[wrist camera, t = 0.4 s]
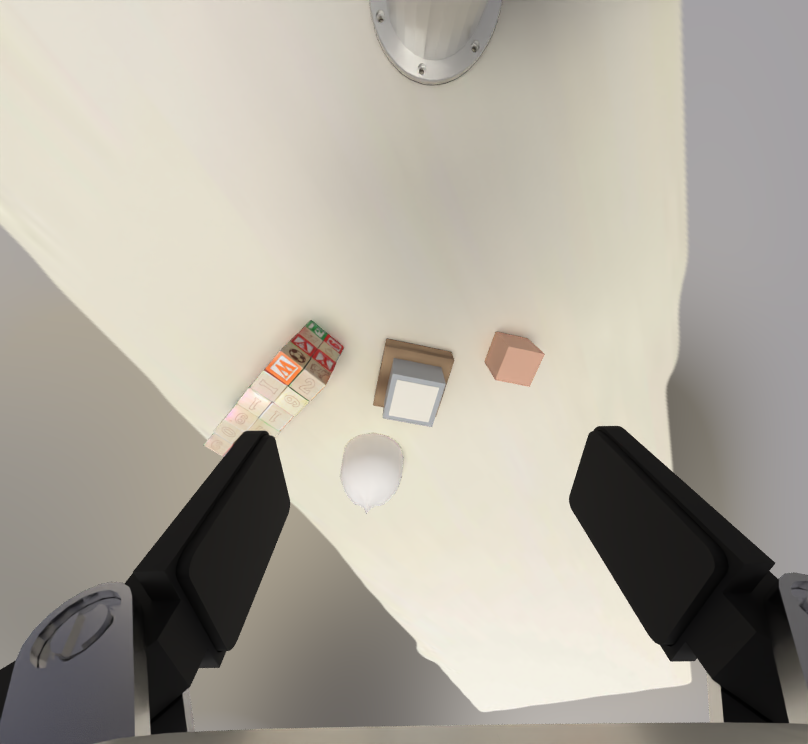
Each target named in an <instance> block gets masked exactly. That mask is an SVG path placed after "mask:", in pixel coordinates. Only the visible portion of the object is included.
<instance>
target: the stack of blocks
mask: <svg viewBox="0 0 808 744" xmlns="http://www.w3.org/2000/svg"><path fill="white" fill-rule="evenodd" d="M343 348H344V347H343V346H342V345H341V344H340V343H339V342H337V341H336V340H335V339H334V338H333V337H331V336H330V335H329V334H327V333H326V332H325V331H324V330H322V329H321V328H320V327H319V326H318V325H316V324H315V323H314V322H313V321H312V320H311V321H310V322H308V323H307V324H306V325H305V326H304V327H303V328H302V330H301V331H300V332H299V333H298V334H296V335H295V336H294V337H293V338H292V339H291V340H290V341H289V342H288V344H286V345H285V346H284V347H283V348H282V349H281V350H280V351H279V352H278V353H277V355H276V356H275V357H274V358H273V360H272V361H271V362H270V363H269V365H268V366H267V367H266V368H265V369H264V370H263V371H262V373H261V374H260V375H259V376H258V378H257V379H256V380H255V382H254V383H253V384H252V385H251V386H250V387H249V388H248V389H247V390H246V392H245V393H244V394H243V395H242V397H241V398H240V399H239V401H238V402H237V404H236V405H235V406H234V407H233V409H232V410H231V411H230V412H229V414H228V415H227V416H226V417H225V418H224V419H223V421H222V422H221V423H220V424H219V425H218V426H217V428H216V429H215V430H214V433H213V434H212V435H211V437H210V438H209V439H208V440H207V441H206V442H205V444H204V446H205V447H207V448H209V449H210V450H212V451H214V452H216V453H217V454H219V455H220V456H225V455H226V454H227V452H228V451H229V450H230V449H231V447H232V446H233V445H234V444H235V442H236V441H237V440H238V439H239V437H240V436H241V435H242V434H243V433H244V432H245V431H267V432H268V433H269V435H272V436H274V437H276V436H277V435H278V434H279V433H280V431H281V429H282V428H283V427H284V426H285V425H286V424H287V423H288V422H289V421H290V420H291V419H292V418H293V417H294V416H296V415H297V414H298V413H299V412H300V411H301V410H302V409H303V408H304V407H305V406H306V405H307V404H308V403H309V401H311V400H312V399H313V398H314V397H315V396H316V395H317V394H318V393H319V392H320V391H321V390H322V389H323V388H324V387H325V385H326V384H327V381H328V379H329V377H330V375H331V373H332V371H333V370H334V367H335V365H336V362H337V360H338V358H339V356H340V355H341V353H342V350H343Z"/></svg>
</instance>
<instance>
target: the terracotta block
mask: <svg viewBox="0 0 808 744" xmlns="http://www.w3.org/2000/svg"><path fill="white" fill-rule="evenodd" d="M544 355H545V354H544V353H543V352H542V351H541V350H540V349H539V348H538V347H536V346H535V345H534V344H533V343H532V342H531V341H530V340H529V339H528V338H523V337H519V336H514V335H509V334H505V333H500V332H495V335H494V338H493V340H492V343H491V346H490V348H489V351H488V354H487V356H486V359H485V363H486V365H487V367H488V368H489V370H490V372H491V374H492V375H493V377H494V379H495V380H498V381H503V382H508V383H513V384H519V385H524V386H529V387H530V385H531V383H532V380H533V378H534V376H535V374H536V372H537V370H538V368H539V365H540V363H541V361H542V359H543V357H544Z"/></svg>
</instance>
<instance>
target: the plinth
mask: <svg viewBox="0 0 808 744" xmlns="http://www.w3.org/2000/svg"><path fill="white" fill-rule="evenodd" d="M394 358H397V359H402V360H407V361H412V362H417V363H422V364H427V365H432V366H437V367H441V368H442V372H443V375H444V379H445V383H446V384H447V381H448V378H449V375H450V372H451V369H452V366H453V363H454V358H453V355H452V353H451V352H449V351H444V350H439V349H435V348H430V347H425V346H420V345H415V344H410V343H405V342H401V341H396V340H391V339H386V343H385V348H384V353H383V358H382V363H381V368H380V372H379V377H378V382H377V387H376V392H375V397H374V403H373V405H374V406H379V407H384V400H385V395H386V390H387V386H388V381H389V377H390V373H391V368H392V364H393V359H394ZM445 387H446V385H445ZM444 390H445V388H444ZM443 393H444V391H443ZM442 397H443V394H442ZM441 400H442V398H441ZM440 403H441V401H440ZM439 406H440V404H439ZM438 409H439V407H438ZM437 412H438V410H437ZM436 415H437V413H436ZM435 417H436V416H435Z"/></svg>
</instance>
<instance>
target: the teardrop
mask: <svg viewBox="0 0 808 744" xmlns="http://www.w3.org/2000/svg"><path fill="white" fill-rule="evenodd" d="M403 458H404V457H403V454H402V450H401V447H400V446H399V444H398V443H397V442H396V441H395V440H393V439H392V438H390V437H388V436H386V435H381V434H377V433H368V434H362V435H358V436H356V437H354V438H353V439H351V440H350V441H349V442H348V443H347V445H346V446H345V450H344V454H343V459H342V466H341V472H340V478H341V482H342V485H343V488H344V491H345V493H346V494H347V496H348V497H349V499H350V500H351V501H352V502H353V503H354V504H355V505H359V506H361V507H363V508H364V510H365V512H366V514H367V512H368V511H369V510H370V508H373V507H375V506H379V505H383V504H385V503H386V502H388V501H389V500H390V499H391V498H392V496H393V495H394V494H395V493H396V491H397V489H398V487H399V484H400V481H401V478H402V469H403Z"/></svg>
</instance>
